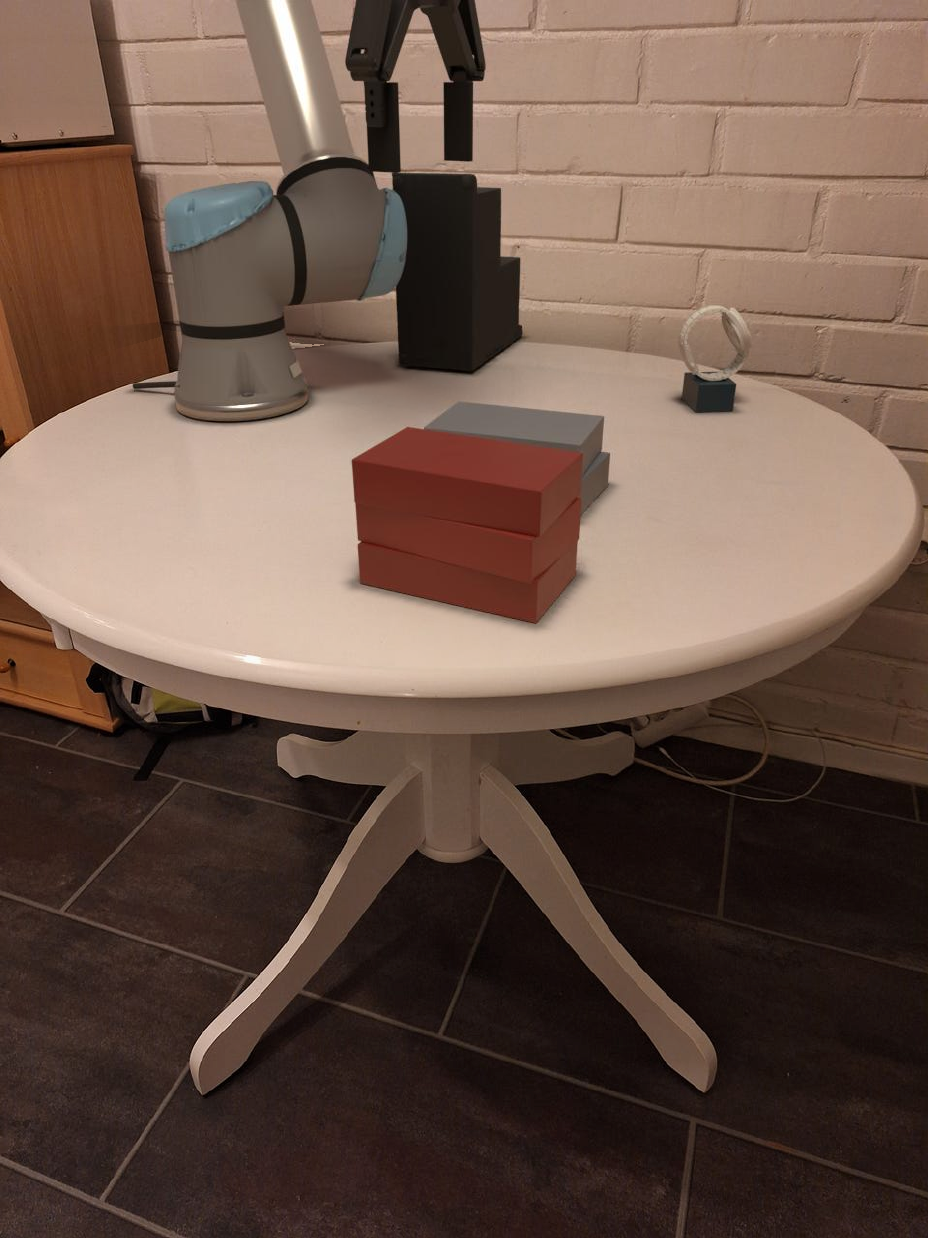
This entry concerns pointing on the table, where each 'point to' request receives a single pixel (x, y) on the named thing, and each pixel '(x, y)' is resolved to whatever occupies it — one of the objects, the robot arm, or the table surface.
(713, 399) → the ring sculpture
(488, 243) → the bookend
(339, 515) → the table surface
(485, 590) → the red stack low
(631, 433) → the table surface
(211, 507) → the table surface
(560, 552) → the red stack top
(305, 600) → the table surface
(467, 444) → the red book
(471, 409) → the grey book top
